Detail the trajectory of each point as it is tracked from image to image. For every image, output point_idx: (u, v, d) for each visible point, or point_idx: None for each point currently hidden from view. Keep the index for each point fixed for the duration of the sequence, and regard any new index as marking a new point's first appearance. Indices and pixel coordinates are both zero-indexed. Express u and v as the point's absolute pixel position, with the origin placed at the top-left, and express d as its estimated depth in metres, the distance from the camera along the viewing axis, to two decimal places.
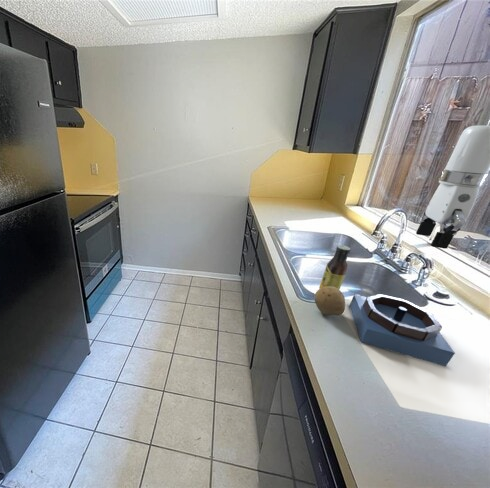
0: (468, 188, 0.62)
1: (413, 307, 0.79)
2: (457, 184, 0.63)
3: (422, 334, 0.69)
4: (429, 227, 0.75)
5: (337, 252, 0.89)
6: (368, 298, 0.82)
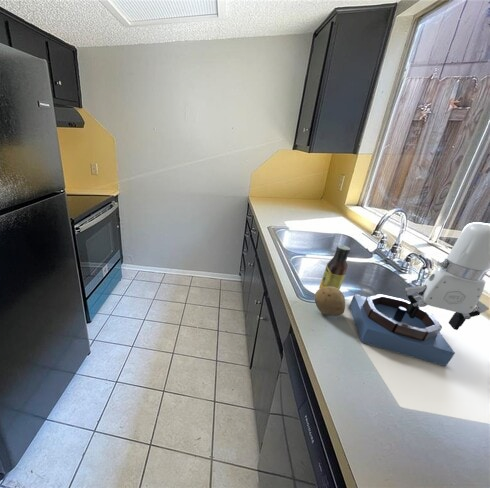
0: (438, 270, 0.69)
1: None
2: (441, 267, 0.70)
3: (422, 334, 0.69)
4: (456, 319, 0.71)
5: (337, 252, 0.89)
6: (368, 298, 0.82)
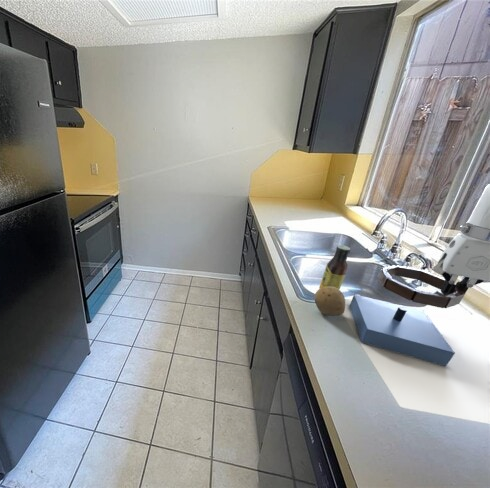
0: (459, 236, 0.65)
1: (431, 276, 0.74)
2: None
3: (444, 301, 0.64)
4: None
5: (337, 252, 0.89)
6: (383, 268, 0.77)
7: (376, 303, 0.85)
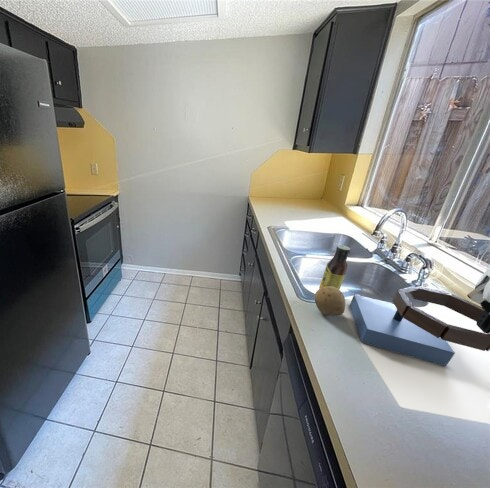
0: None
1: (463, 303, 0.58)
2: None
3: (487, 342, 0.48)
4: None
5: (337, 252, 0.89)
6: (400, 291, 0.61)
7: (376, 303, 0.85)
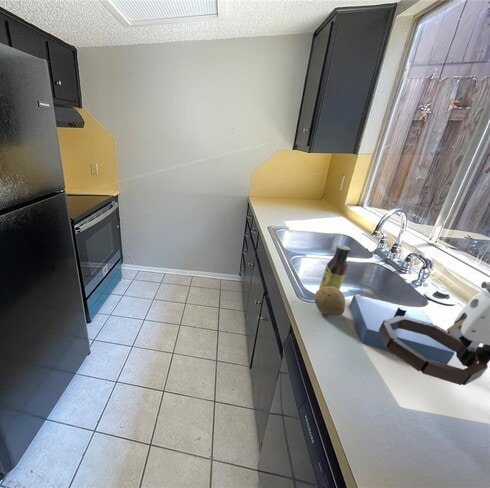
0: (483, 295, 0.52)
1: (444, 334, 0.61)
2: (486, 289, 0.52)
3: (463, 377, 0.51)
4: None
5: (337, 252, 0.89)
6: (385, 322, 0.64)
7: (376, 303, 0.85)
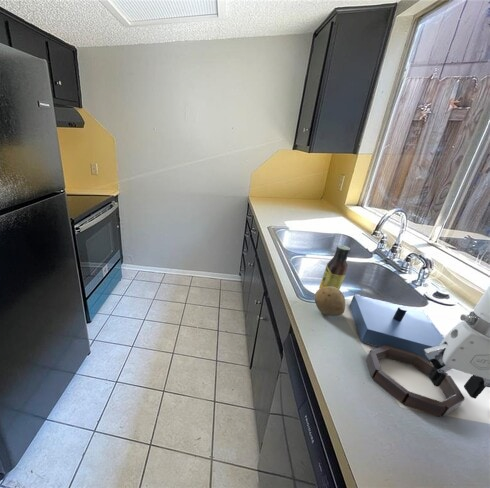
0: (462, 326, 0.55)
1: (427, 365, 0.65)
2: None
3: (441, 409, 0.55)
4: (474, 385, 0.58)
5: (337, 252, 0.89)
6: (372, 352, 0.68)
7: (376, 303, 0.85)
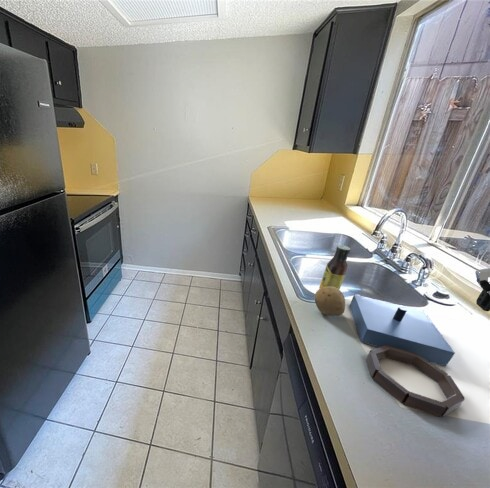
0: None
1: (427, 365, 0.65)
2: None
3: (441, 409, 0.55)
4: None
5: (337, 252, 0.89)
6: (372, 352, 0.68)
7: (376, 303, 0.85)
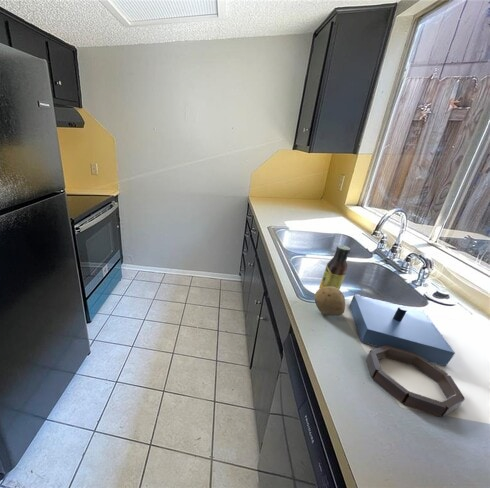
0: None
1: (427, 365, 0.65)
2: None
3: (441, 409, 0.55)
4: None
5: (337, 252, 0.89)
6: (372, 352, 0.68)
7: (376, 303, 0.85)
